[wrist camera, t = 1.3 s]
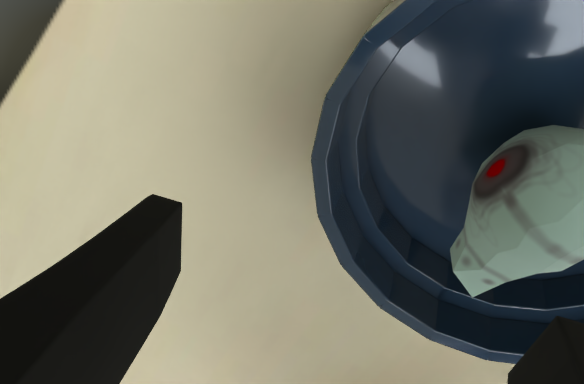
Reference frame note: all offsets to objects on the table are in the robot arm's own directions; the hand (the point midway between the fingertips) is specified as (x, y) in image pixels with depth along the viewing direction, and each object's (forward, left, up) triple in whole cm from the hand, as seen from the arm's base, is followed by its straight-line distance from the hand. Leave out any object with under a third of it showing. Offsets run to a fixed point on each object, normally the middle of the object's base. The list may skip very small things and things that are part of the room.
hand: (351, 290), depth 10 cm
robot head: (-5, 0, -13) cm, 14 cm away
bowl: (-5, 0, -13) cm, 14 cm away
